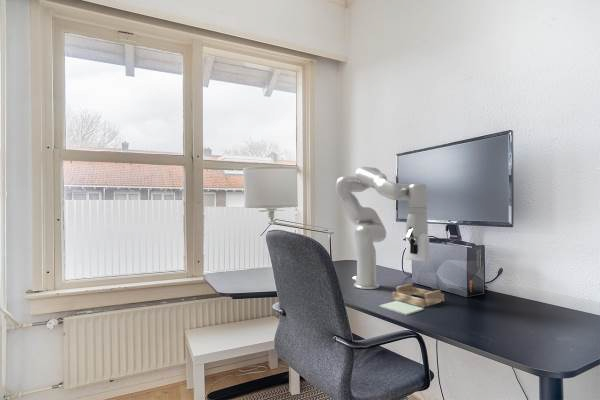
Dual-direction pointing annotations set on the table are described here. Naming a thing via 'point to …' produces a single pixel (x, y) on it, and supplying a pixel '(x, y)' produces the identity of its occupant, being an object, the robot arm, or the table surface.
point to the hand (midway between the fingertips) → (417, 252)
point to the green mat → (401, 307)
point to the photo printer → (419, 249)
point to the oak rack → (430, 296)
